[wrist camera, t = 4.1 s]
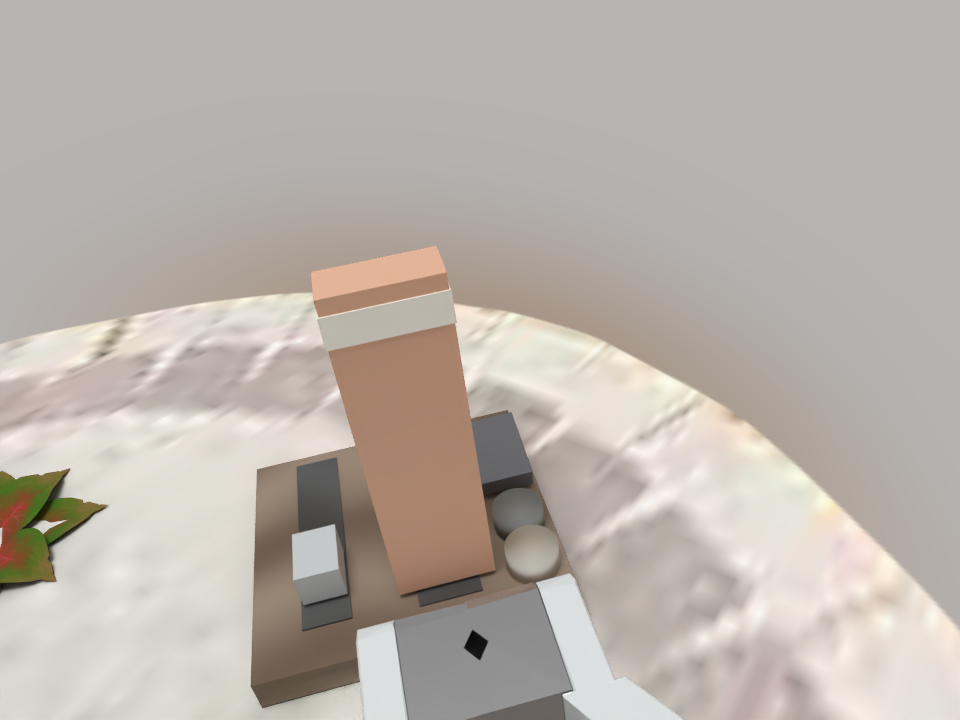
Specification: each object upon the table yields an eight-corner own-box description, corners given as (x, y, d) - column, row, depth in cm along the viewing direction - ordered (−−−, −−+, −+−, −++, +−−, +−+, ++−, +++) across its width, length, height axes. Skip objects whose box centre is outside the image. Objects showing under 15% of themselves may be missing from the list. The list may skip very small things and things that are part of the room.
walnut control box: (584, 620, 31) (581, 579, 29) (262, 707, 29) (241, 670, 28) (510, 430, 40) (505, 392, 39) (265, 488, 39) (250, 452, 37)
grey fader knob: (347, 593, 31) (338, 568, 30) (303, 605, 31) (293, 580, 30) (343, 548, 33) (334, 524, 32) (301, 559, 32) (291, 534, 32)
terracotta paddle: (497, 570, 31) (448, 272, 23) (398, 596, 30) (311, 301, 22) (486, 536, 32) (437, 244, 24) (392, 559, 32) (309, 271, 24)
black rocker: (533, 483, 34) (532, 471, 34) (481, 495, 34) (480, 484, 34) (512, 424, 37) (511, 412, 36) (464, 435, 37) (462, 423, 36)
